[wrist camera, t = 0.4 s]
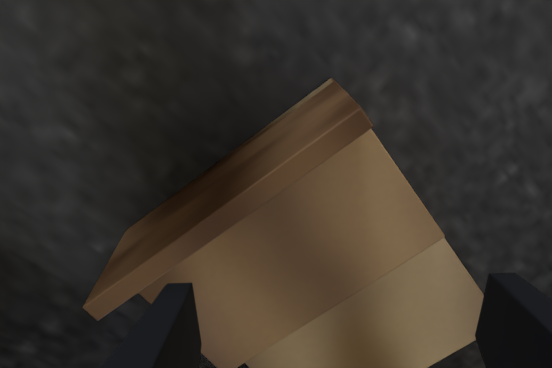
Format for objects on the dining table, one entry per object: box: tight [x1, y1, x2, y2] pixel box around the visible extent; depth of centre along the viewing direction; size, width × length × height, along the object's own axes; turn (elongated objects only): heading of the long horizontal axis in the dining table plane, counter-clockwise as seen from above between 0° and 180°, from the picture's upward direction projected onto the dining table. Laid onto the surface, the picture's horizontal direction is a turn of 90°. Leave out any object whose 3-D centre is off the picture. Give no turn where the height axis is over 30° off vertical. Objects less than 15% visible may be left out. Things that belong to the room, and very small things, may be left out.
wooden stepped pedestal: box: [83, 78, 484, 368], centre depth 21 cm, size 12×16×6 cm
